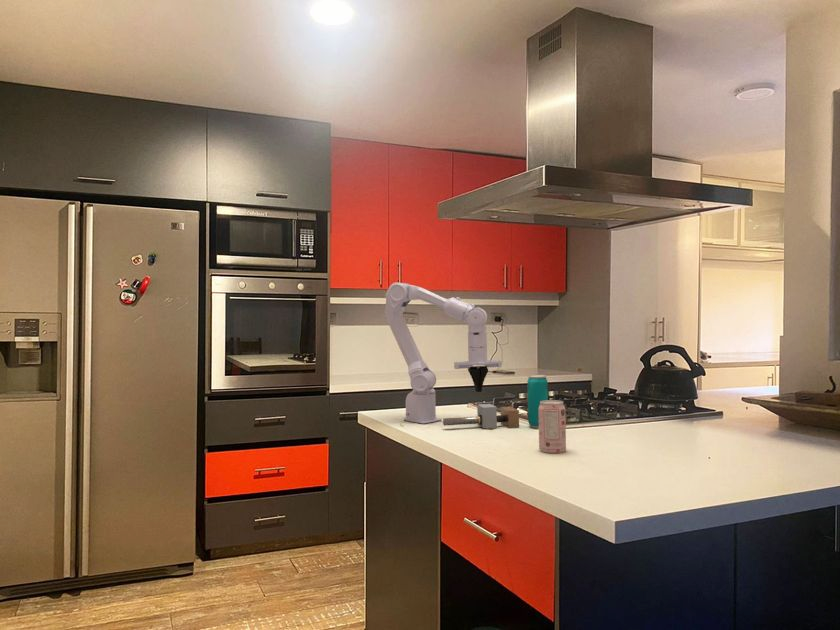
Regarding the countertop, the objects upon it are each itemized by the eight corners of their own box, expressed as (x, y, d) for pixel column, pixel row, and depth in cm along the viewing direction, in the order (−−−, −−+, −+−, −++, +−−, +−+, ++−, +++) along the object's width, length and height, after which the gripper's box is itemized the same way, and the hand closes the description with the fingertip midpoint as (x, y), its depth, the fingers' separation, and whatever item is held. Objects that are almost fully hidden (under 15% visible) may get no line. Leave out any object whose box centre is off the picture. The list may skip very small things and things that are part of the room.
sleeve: (483, 428, 185) (483, 407, 185) (477, 424, 191) (477, 404, 190) (496, 427, 185) (496, 406, 185) (490, 423, 191) (490, 403, 191)
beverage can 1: (547, 425, 189) (546, 374, 189) (549, 429, 183) (548, 376, 183) (527, 425, 190) (526, 374, 189) (529, 429, 184) (528, 377, 184)
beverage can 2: (567, 448, 159) (566, 400, 159) (564, 454, 153) (563, 404, 152) (541, 447, 161) (540, 399, 161) (537, 452, 155) (536, 403, 155)
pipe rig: (447, 432, 181) (447, 415, 181) (440, 426, 190) (440, 410, 190) (520, 428, 185) (520, 410, 185) (510, 422, 194) (509, 406, 194)
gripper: (457, 348, 190) (458, 394, 190) (504, 347, 193) (505, 392, 193) (452, 347, 197) (453, 391, 197) (497, 345, 200) (498, 389, 200)
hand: (478, 391), depth 196 cm, fingers closed
